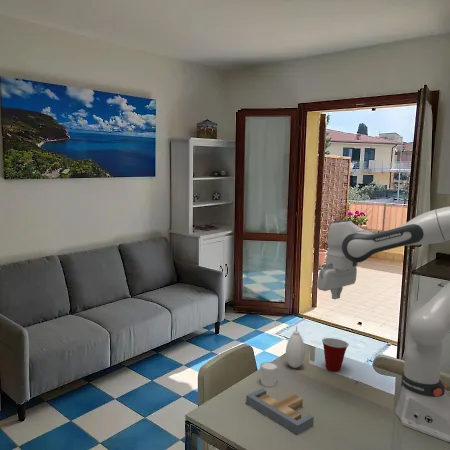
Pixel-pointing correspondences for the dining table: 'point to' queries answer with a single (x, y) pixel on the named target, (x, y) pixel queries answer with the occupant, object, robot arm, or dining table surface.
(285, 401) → the t block
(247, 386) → the dining table surface
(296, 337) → the sauce bottle
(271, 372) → the white cylinder
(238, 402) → the dining table surface
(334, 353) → the plastic cup
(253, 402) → the dock
